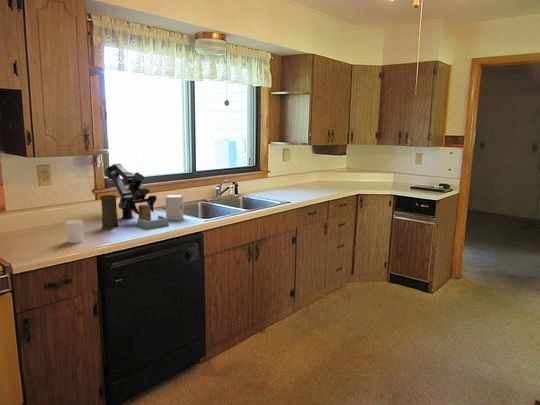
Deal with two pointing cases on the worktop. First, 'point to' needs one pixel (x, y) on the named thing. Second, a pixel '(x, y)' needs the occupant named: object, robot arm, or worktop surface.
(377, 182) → the worktop surface
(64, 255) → the worktop surface
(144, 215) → the walnut block
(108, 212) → the container
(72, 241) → the white cup
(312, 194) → the worktop surface
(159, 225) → the open box
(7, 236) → the worktop surface
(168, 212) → the supplement box
